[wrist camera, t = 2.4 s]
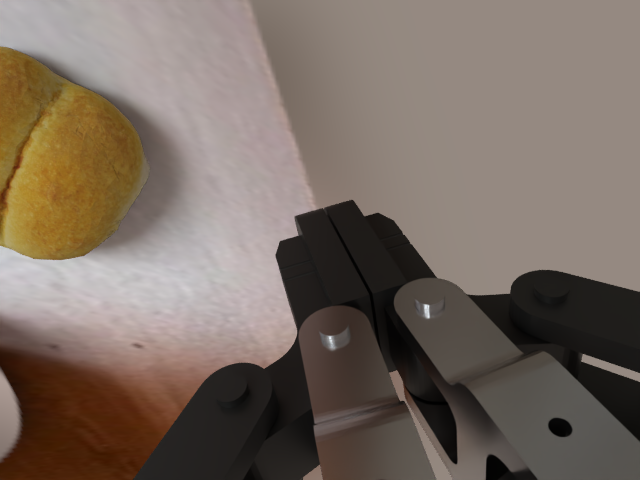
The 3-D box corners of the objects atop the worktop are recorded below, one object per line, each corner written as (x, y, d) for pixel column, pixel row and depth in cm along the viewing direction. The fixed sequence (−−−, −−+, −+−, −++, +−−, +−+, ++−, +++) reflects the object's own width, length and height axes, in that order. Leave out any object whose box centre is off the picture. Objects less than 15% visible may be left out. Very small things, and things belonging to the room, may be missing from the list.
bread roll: (-58, 1, 18) (-110, 18, 14) (172, 126, 22) (172, 160, 19) (-124, 183, 20) (-181, 232, 17) (93, 262, 25) (81, 314, 21)
